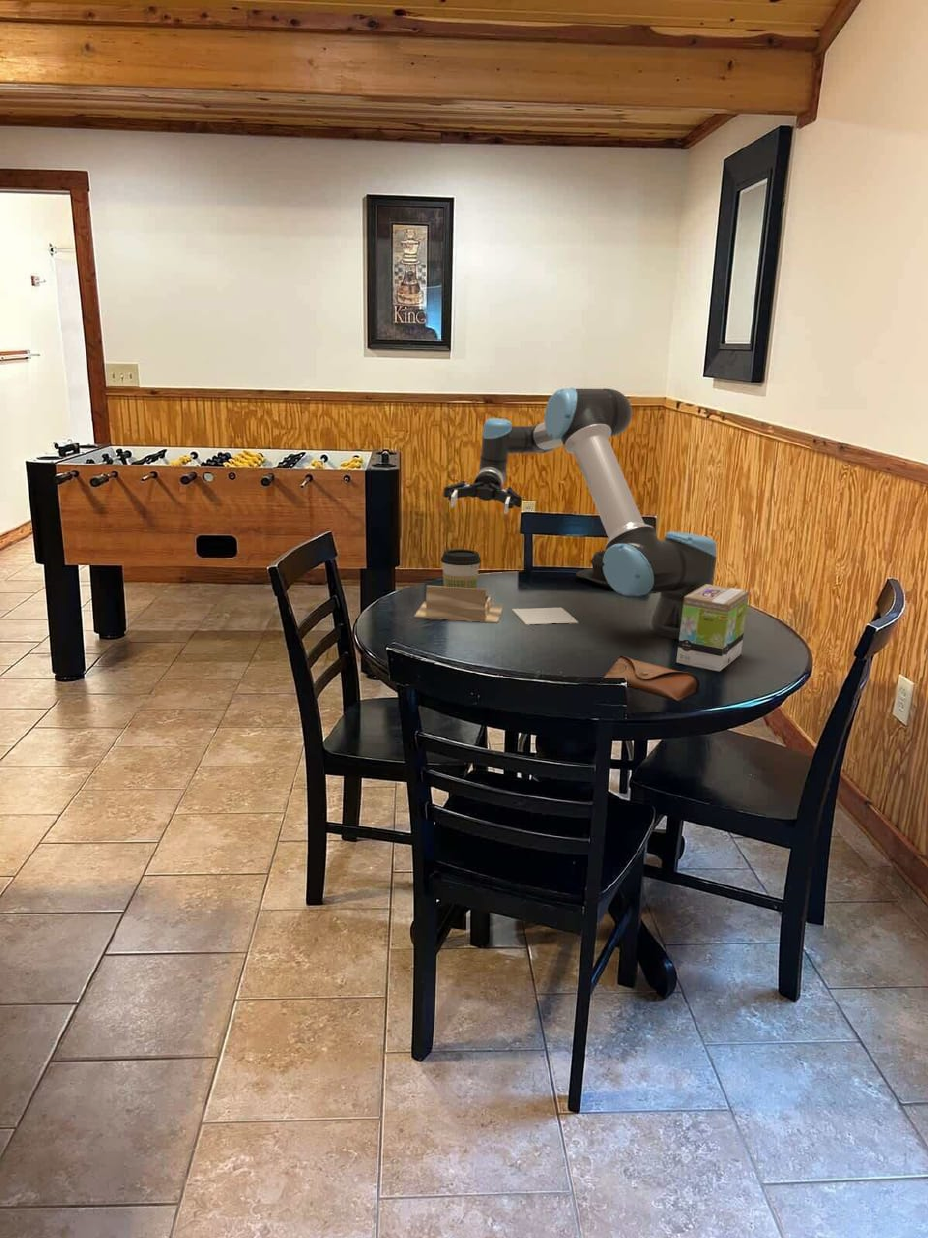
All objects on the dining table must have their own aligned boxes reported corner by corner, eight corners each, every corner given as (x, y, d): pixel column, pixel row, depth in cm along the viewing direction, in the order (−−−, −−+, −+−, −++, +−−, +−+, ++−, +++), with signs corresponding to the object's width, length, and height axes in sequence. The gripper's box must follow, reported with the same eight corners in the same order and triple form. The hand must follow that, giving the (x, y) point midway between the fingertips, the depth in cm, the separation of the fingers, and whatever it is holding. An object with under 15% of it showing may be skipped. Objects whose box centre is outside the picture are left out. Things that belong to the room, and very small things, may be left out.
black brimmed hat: (672, 584, 262) (675, 555, 260) (649, 598, 247) (651, 567, 244) (591, 572, 274) (593, 544, 272) (564, 584, 259) (566, 554, 257)
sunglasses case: (596, 679, 183) (607, 647, 184) (611, 688, 188) (621, 657, 189) (680, 702, 172) (691, 668, 173) (692, 711, 178) (703, 678, 179)
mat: (578, 623, 221) (578, 621, 221) (525, 625, 218) (526, 623, 218) (561, 608, 233) (561, 607, 233) (511, 610, 231) (511, 609, 231)
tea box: (722, 673, 189) (730, 603, 185) (675, 663, 194) (681, 595, 190) (742, 654, 201) (750, 588, 197) (697, 646, 206) (704, 581, 202)
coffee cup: (454, 620, 221) (456, 558, 217) (431, 610, 228) (432, 551, 224) (487, 614, 226) (489, 554, 222) (463, 605, 234) (465, 547, 230)
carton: (426, 599, 238) (426, 569, 236) (504, 604, 236) (505, 574, 234) (413, 617, 222) (414, 585, 220) (497, 623, 219) (498, 590, 217)
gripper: (532, 503, 251) (526, 526, 231) (441, 491, 253) (428, 513, 233) (535, 476, 248) (530, 497, 228) (444, 464, 250) (431, 484, 230)
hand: (478, 505), depth 231 cm, fingers open, 13 cm apart
